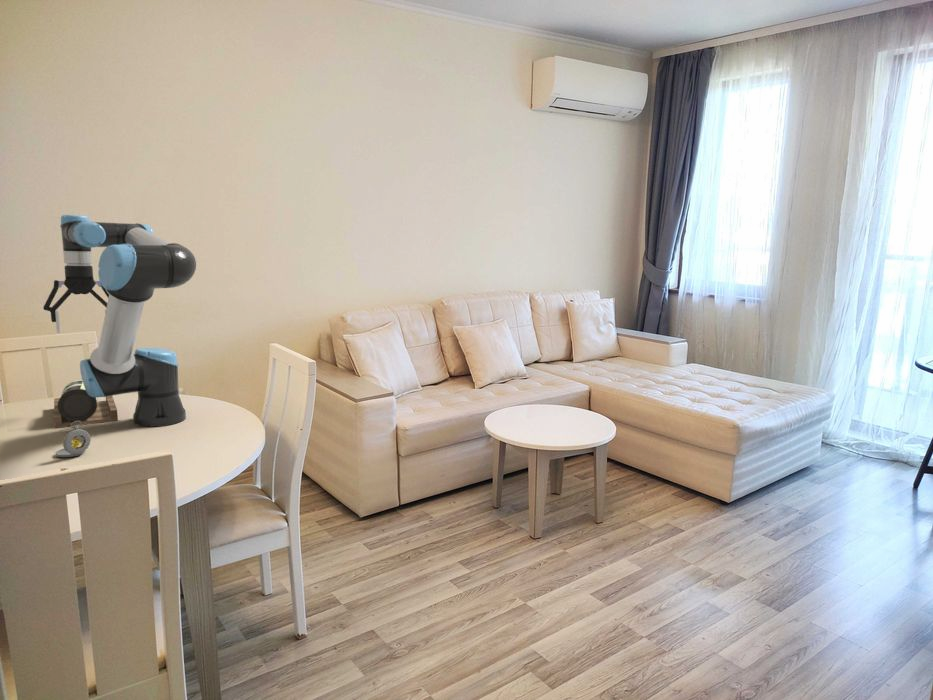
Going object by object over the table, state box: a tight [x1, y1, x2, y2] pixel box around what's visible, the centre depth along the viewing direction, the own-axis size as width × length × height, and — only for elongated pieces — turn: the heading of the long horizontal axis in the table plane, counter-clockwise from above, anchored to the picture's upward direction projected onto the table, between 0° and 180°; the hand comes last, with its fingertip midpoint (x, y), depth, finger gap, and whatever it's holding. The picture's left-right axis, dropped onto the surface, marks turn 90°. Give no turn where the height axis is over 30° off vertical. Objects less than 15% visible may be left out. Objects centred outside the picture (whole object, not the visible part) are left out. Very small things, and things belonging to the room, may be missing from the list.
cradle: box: [53, 395, 119, 429], centre depth 197 cm, size 24×17×4 cm
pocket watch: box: [55, 421, 92, 458], centre depth 161 cm, size 8×8×10 cm
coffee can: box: [58, 379, 99, 421], centre depth 192 cm, size 10×10×14 cm
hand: (83, 331), depth 195 cm, fingers open, 13 cm apart
